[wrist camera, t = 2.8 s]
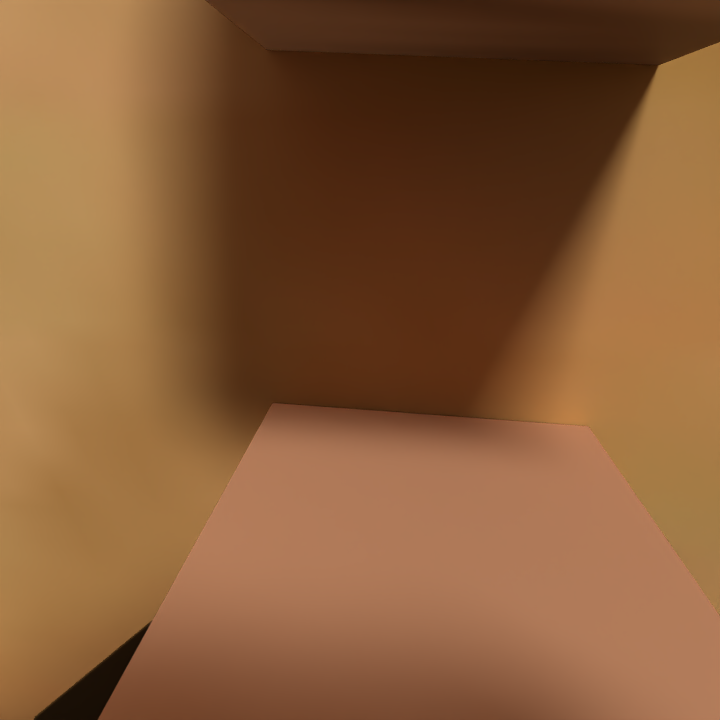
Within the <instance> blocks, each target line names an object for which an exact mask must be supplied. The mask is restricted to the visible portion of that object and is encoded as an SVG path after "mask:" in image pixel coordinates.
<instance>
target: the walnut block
mask: <svg viewBox="0 0 720 720" xmlns="http://www.w3.org/2000/svg"><path fill="white" fill-rule="evenodd" d="M206 1H207V2H208V3H209V4H211V5H212V6H213V7H214V8H216V9H217V10H218V11H219V12H221V13H222V14H223V15H224V16H226V17H227V18H228V19H229V20H230V21H232V22H233V23H234V24H235V25H237V26H238V27H239V28H240V29H242V30H243V31H244V32H245V33H247V34H248V35H249V36H250V37H252V38H253V39H254V40H255V41H257V42H258V43H259V44H260V45H261V46H263V47H264V48H265V49H266V50H281V51H307V52H333V53H358V54H384V55H410V56H436V57H462V58H487V59H513V60H539V61H565V62H590V63H616V64H642V65H660V64H663V63H666V62H668V61H671V60H673V59H676V58H679V57H681V56H684V55H687V54H689V53H692V52H694V51H697V50H700V49H702V48H705V47H708V46H710V45H713V44H715V43H718V42H720V0H206Z"/></svg>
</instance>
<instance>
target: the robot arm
mask: <svg viewBox="0 0 720 720" xmlns="http://www.w3.org/2000/svg"><path fill="white" fill-rule="evenodd" d="M152 621H153V620H152ZM152 621H151V622H152ZM151 622H150V623H148V624H147V625H146V626H145V627H144V628H142V629H141V630H140V631H139V632H137V633H136V634H135V635H134V636H133V637H131V638H130V639H129V640H128V641H126V642H125V643H124V644H123V645H122V646H120V647H119V648H118V649H117V650H116V651H114V652H113V653H112V654H111V655H109V656H108V657H107V658H106V659H105V660H103V661H102V662H101V663H100V664H99V665H97V666H96V667H95V668H94V669H92V670H91V671H90V672H89V673H88V674H86V675H85V676H84V677H83V678H82V679H80V680H79V681H78V682H77V683H75V684H74V685H73V686H72V687H71V688H69V689H68V690H67V691H66V692H64V693H63V694H62V695H61V696H60V697H58V698H57V699H56V700H55V701H54V702H52V703H51V704H50V705H49V706H47V707H46V708H45V709H44V710H43V711H41V712H40V713H39V714H38V715H37V716H35V718H34V720H98V719H99V717H100V715H101V713H102V711H103V709H104V708H105V706H106V704H107V702H108V700H109V699H110V697H111V695H112V693H113V691H114V690H115V688H116V686H117V684H118V682H119V680H120V679H121V677H122V675H123V673H124V671H125V670H126V668H127V666H128V664H129V662H130V660H131V659H132V657H133V655H134V653H135V651H136V650H137V648H138V646H139V644H140V642H141V641H142V639H143V637H144V635H145V633H146V631H147V630H148V628H149V626H150V624H151Z"/></svg>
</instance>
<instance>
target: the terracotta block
mask: <svg viewBox="0 0 720 720" xmlns="http://www.w3.org/2000/svg"><path fill="white" fill-rule="evenodd" d="M98 720H720V615H719V614H718V613H717V611H716V610H715V608H714V607H713V605H712V604H711V602H710V601H709V600H708V598H707V597H706V595H705V594H704V592H703V591H702V589H701V588H700V587H699V585H698V584H697V582H696V581H695V579H694V578H693V577H692V575H691V574H690V572H689V571H688V569H687V568H686V566H685V565H684V564H683V562H682V561H681V559H680V558H679V556H678V555H677V553H676V552H675V551H674V549H673V548H672V546H671V545H670V543H669V542H668V540H667V539H666V538H665V536H664V535H663V533H662V532H661V530H660V529H659V527H658V526H657V525H656V523H655V522H654V520H653V519H652V517H651V516H650V514H649V513H648V512H647V510H646V509H645V507H644V506H643V504H642V503H641V501H640V500H639V499H638V497H637V496H636V494H635V493H634V491H633V490H632V488H631V487H630V486H629V484H628V483H627V481H626V480H625V478H624V477H623V475H622V474H621V473H620V471H619V470H618V468H617V467H616V465H615V464H614V462H613V461H612V460H611V458H610V457H609V455H608V454H607V452H606V451H605V450H604V448H603V447H602V445H601V444H600V442H599V441H598V439H597V438H596V437H595V435H594V434H593V432H592V431H591V429H590V428H589V426H576V425H563V424H549V423H536V422H522V421H509V420H495V419H482V418H469V417H455V416H442V415H428V414H415V413H402V412H388V411H375V410H361V409H348V408H334V407H321V406H308V405H294V404H281V403H272V405H271V407H270V408H269V410H268V412H267V414H266V416H265V417H264V419H263V421H262V423H261V425H260V427H259V428H258V430H257V432H256V434H255V436H254V437H253V439H252V441H251V443H250V445H249V446H248V448H247V450H246V452H245V454H244V456H243V457H242V459H241V461H240V463H239V465H238V466H237V468H236V470H235V472H234V474H233V475H232V477H231V479H230V481H229V483H228V485H227V486H226V488H225V490H224V492H223V494H222V495H221V497H220V499H219V501H218V503H217V505H216V506H215V508H214V510H213V512H212V514H211V515H210V517H209V519H208V521H207V523H206V524H205V526H204V528H203V530H202V532H201V534H200V535H199V537H198V539H197V541H196V543H195V544H194V546H193V548H192V550H191V552H190V553H189V555H188V557H187V559H186V561H185V563H184V564H183V566H182V568H181V570H180V572H179V573H178V575H177V577H176V579H175V581H174V583H173V584H172V586H171V588H170V590H169V592H168V593H167V595H166V597H165V599H164V601H163V602H162V604H161V606H160V608H159V610H158V612H157V613H156V615H155V617H154V619H153V621H152V622H151V624H150V626H149V628H148V630H147V631H146V633H145V635H144V637H143V639H142V641H141V642H140V644H139V646H138V648H137V650H136V651H135V653H134V655H133V657H132V659H131V660H130V662H129V664H128V666H127V668H126V670H125V671H124V673H123V675H122V677H121V679H120V680H119V682H118V684H117V686H116V688H115V690H114V691H113V693H112V695H111V697H110V699H109V700H108V702H107V704H106V706H105V708H104V709H103V711H102V713H101V715H100V717H99V719H98Z"/></svg>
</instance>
